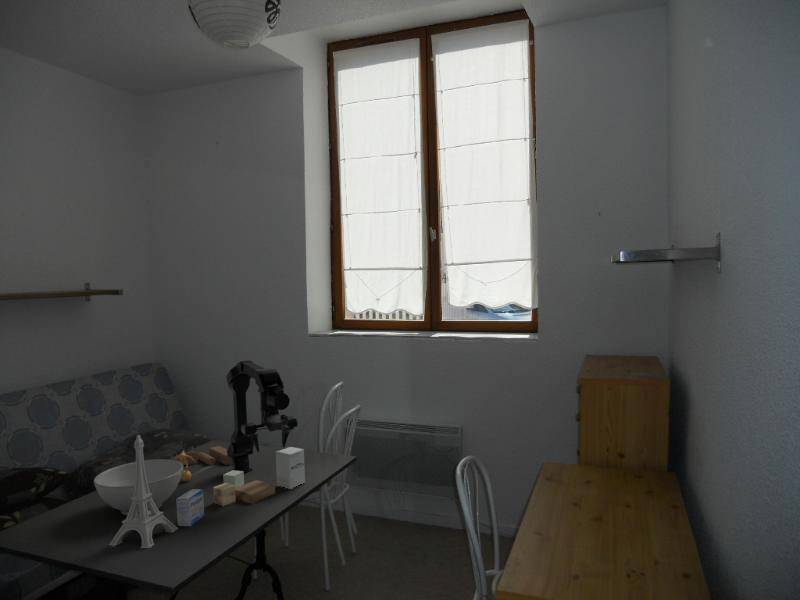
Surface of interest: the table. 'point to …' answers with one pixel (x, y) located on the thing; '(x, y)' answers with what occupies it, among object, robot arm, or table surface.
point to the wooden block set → (210, 456)
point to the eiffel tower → (142, 506)
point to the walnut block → (254, 491)
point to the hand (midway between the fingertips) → (271, 449)
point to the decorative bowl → (121, 483)
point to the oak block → (224, 494)
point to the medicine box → (190, 507)
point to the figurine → (186, 474)
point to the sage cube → (234, 478)
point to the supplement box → (290, 467)
